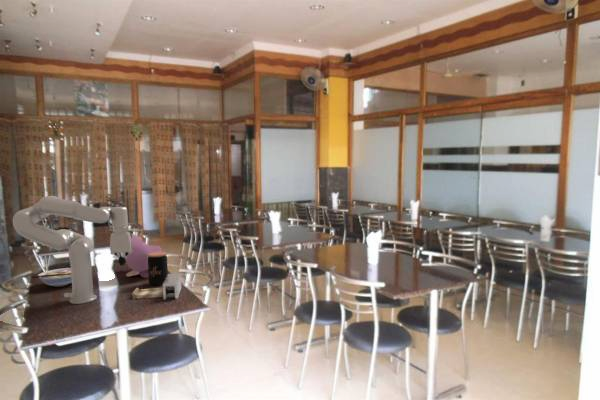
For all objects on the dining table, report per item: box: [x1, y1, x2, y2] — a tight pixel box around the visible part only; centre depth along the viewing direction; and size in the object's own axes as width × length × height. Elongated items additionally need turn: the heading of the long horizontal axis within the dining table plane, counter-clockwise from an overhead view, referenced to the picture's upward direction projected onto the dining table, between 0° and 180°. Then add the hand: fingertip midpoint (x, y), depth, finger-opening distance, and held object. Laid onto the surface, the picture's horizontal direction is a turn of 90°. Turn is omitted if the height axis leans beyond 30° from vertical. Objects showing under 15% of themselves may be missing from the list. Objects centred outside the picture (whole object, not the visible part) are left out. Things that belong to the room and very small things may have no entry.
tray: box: [131, 287, 163, 300], centre depth 225 cm, size 15×10×3 cm, turn 100°
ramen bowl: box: [31, 267, 72, 288], centre depth 245 cm, size 25×23×8 cm
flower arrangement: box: [125, 233, 163, 279], centre depth 266 cm, size 35×24×28 cm
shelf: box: [162, 272, 183, 300], centre depth 226 cm, size 7×20×8 cm, turn 10°
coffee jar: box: [148, 251, 169, 287], centre depth 244 cm, size 11×11×18 cm
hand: (122, 264), depth 221 cm, fingers closed
